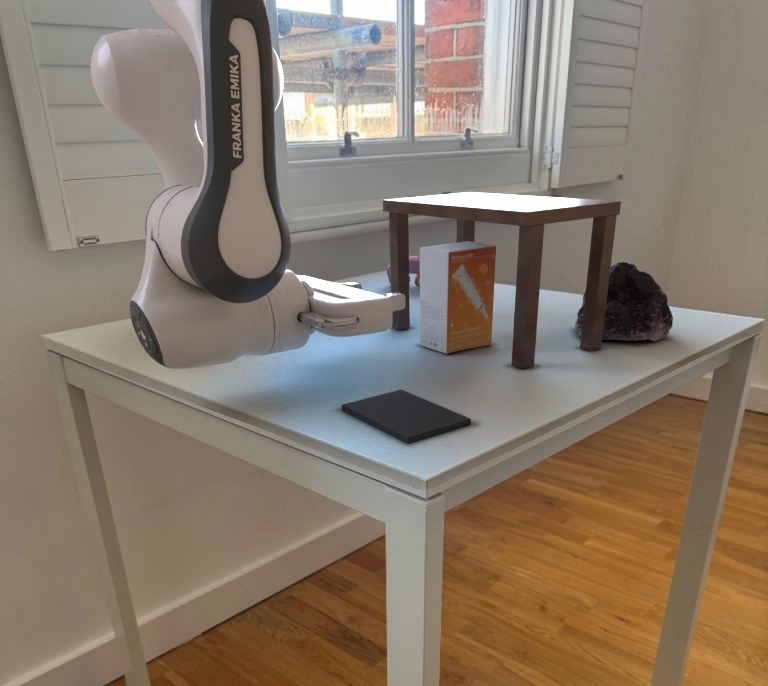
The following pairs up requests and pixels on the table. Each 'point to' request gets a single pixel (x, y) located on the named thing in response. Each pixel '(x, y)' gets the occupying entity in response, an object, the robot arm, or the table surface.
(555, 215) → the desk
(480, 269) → the small box
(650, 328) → the crystal cluster
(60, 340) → the table surface
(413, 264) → the video game controller
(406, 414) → the mat
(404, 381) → the table surface
